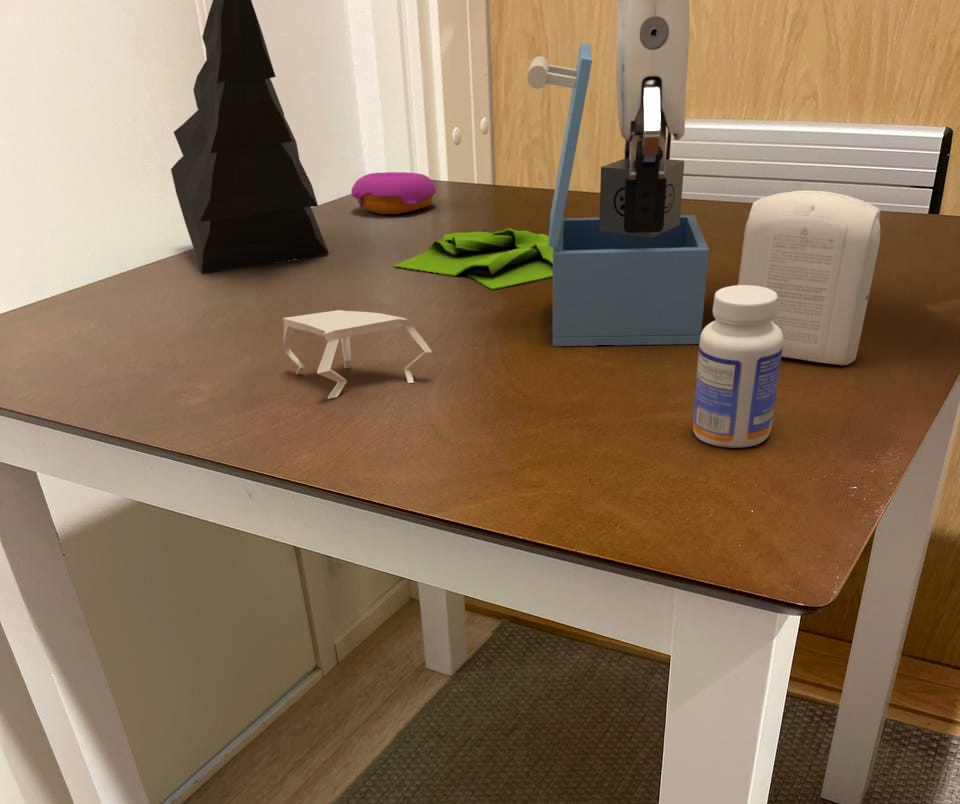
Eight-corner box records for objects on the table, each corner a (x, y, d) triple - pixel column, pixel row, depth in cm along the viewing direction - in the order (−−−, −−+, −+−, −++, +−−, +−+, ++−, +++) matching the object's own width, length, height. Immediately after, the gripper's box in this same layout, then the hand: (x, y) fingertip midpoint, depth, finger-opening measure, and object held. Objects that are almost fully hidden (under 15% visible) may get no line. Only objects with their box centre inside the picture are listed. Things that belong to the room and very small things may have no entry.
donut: (449, 206, 128) (447, 168, 126) (395, 222, 122) (392, 183, 119) (394, 197, 134) (391, 161, 131) (340, 213, 128) (335, 175, 125)
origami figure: (284, 407, 76) (273, 345, 73) (287, 368, 82) (277, 310, 79) (436, 393, 76) (432, 331, 74) (427, 356, 83) (423, 298, 80)
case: (687, 301, 92) (694, 214, 87) (700, 344, 83) (709, 249, 78) (554, 304, 93) (554, 218, 88) (552, 346, 84) (552, 253, 79)
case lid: (590, 43, 80) (535, 34, 80) (592, 59, 71) (530, 48, 71) (559, 213, 88) (509, 205, 88) (557, 248, 79) (502, 238, 79)
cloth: (629, 267, 102) (630, 243, 100) (433, 299, 96) (431, 274, 94) (547, 226, 117) (547, 204, 116) (374, 252, 111) (372, 229, 110)
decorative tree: (203, 298, 111) (163, 10, 78) (173, 197, 115) (123, -116, 82) (328, 279, 115) (339, -3, 82) (295, 182, 119) (293, -123, 86)
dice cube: (650, 238, 80) (654, 172, 77) (599, 231, 83) (600, 167, 80) (679, 224, 83) (684, 160, 80) (628, 218, 86) (631, 156, 83)
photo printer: (862, 353, 79) (893, 190, 72) (850, 371, 76) (882, 203, 69) (739, 337, 84) (757, 182, 76) (723, 353, 81) (740, 193, 73)
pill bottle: (758, 415, 70) (777, 278, 65) (779, 448, 66) (801, 304, 60) (684, 420, 70) (695, 283, 65) (700, 452, 66) (714, 308, 60)
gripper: (718, -33, 65) (695, 246, 75) (693, -40, 79) (676, 195, 89) (605, -27, 65) (598, 248, 76) (600, -36, 79) (594, 198, 90)
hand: (640, 218), depth 82 cm, fingers closed on dice cube, 7 cm apart
